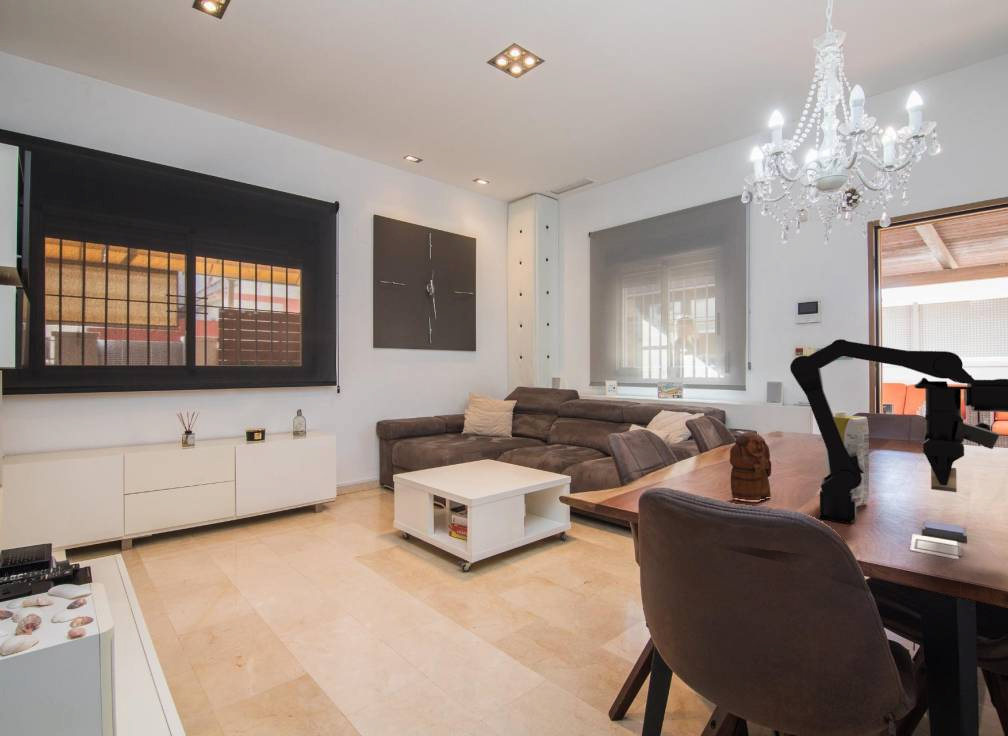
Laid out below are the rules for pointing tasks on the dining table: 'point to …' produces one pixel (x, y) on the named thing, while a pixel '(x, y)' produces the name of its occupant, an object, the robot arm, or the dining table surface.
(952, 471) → the stamp
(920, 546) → the white rectangular plate
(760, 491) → the wooden figurine
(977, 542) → the dining table surface
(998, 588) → the dining table surface
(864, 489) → the juice carton
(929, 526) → the pad
